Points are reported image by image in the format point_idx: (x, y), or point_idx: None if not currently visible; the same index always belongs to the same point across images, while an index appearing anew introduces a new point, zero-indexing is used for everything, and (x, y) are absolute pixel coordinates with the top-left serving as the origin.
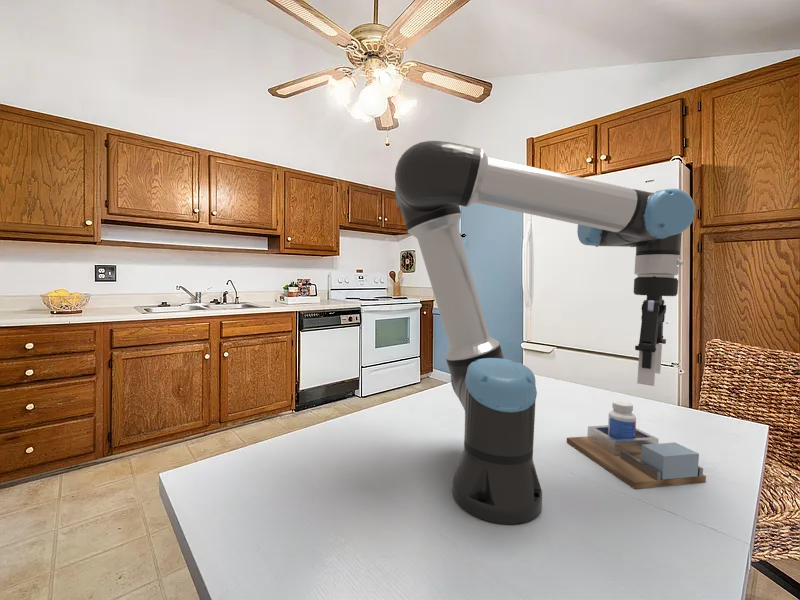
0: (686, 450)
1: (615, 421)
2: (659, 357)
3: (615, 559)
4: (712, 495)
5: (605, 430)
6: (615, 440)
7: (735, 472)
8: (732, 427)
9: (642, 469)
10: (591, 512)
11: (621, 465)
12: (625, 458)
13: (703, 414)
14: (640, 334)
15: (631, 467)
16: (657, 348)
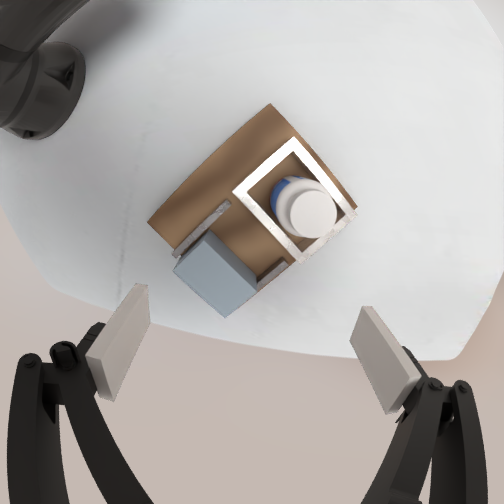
0: (226, 304)
1: (278, 193)
2: (370, 374)
3: (27, 212)
4: (200, 305)
5: (310, 171)
6: (240, 192)
7: (297, 336)
8: (447, 338)
9: (191, 232)
10: (68, 180)
11: (196, 201)
12: (217, 207)
13: (480, 311)
14: (12, 399)
15: (197, 216)
16: (385, 392)
